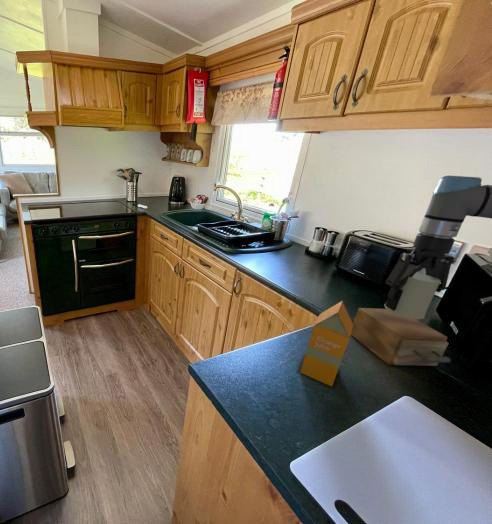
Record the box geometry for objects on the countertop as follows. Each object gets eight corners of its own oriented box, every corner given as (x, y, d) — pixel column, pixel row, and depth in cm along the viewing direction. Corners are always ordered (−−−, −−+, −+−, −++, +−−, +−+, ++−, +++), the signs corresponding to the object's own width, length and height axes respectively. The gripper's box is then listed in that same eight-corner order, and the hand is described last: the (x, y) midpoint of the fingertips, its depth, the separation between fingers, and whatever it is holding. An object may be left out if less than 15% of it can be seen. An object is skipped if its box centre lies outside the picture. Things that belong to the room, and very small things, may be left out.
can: (431, 322, 81) (449, 283, 76) (391, 314, 83) (407, 276, 79) (414, 307, 89) (430, 271, 85) (379, 301, 92) (393, 266, 87)
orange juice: (337, 369, 79) (360, 305, 72) (332, 387, 73) (357, 318, 66) (306, 356, 84) (325, 295, 77) (299, 372, 77) (319, 306, 71)
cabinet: (433, 365, 84) (447, 337, 80) (388, 364, 83) (401, 336, 79) (387, 334, 98) (398, 309, 95) (349, 333, 98) (358, 307, 94)
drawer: (452, 376, 78) (465, 352, 75) (409, 375, 77) (420, 351, 75) (393, 336, 96) (401, 315, 93) (357, 335, 95) (364, 314, 92)
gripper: (411, 236, 74) (381, 314, 82) (489, 240, 75) (452, 316, 83) (387, 229, 81) (361, 301, 89) (458, 233, 82) (426, 303, 90)
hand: (405, 308), depth 86 cm, fingers closed on can, 9 cm apart
